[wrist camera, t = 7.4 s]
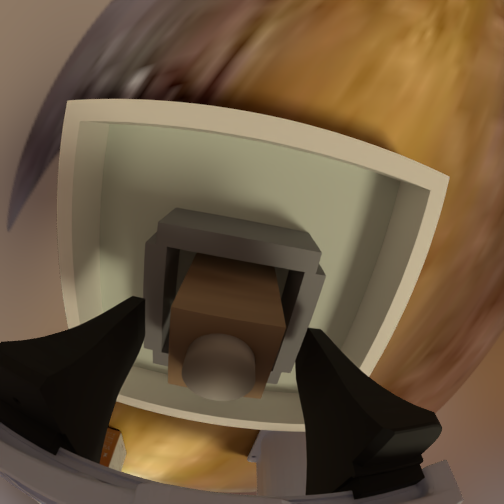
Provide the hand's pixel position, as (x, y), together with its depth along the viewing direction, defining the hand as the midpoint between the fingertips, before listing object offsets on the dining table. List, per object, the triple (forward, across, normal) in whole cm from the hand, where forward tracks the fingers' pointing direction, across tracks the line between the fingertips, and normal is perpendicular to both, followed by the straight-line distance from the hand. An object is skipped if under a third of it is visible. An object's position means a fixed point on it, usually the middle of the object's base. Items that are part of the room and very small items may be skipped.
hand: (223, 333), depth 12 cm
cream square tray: (+5, 0, 0) cm, 5 cm away
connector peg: (+4, 0, 0) cm, 4 cm away
